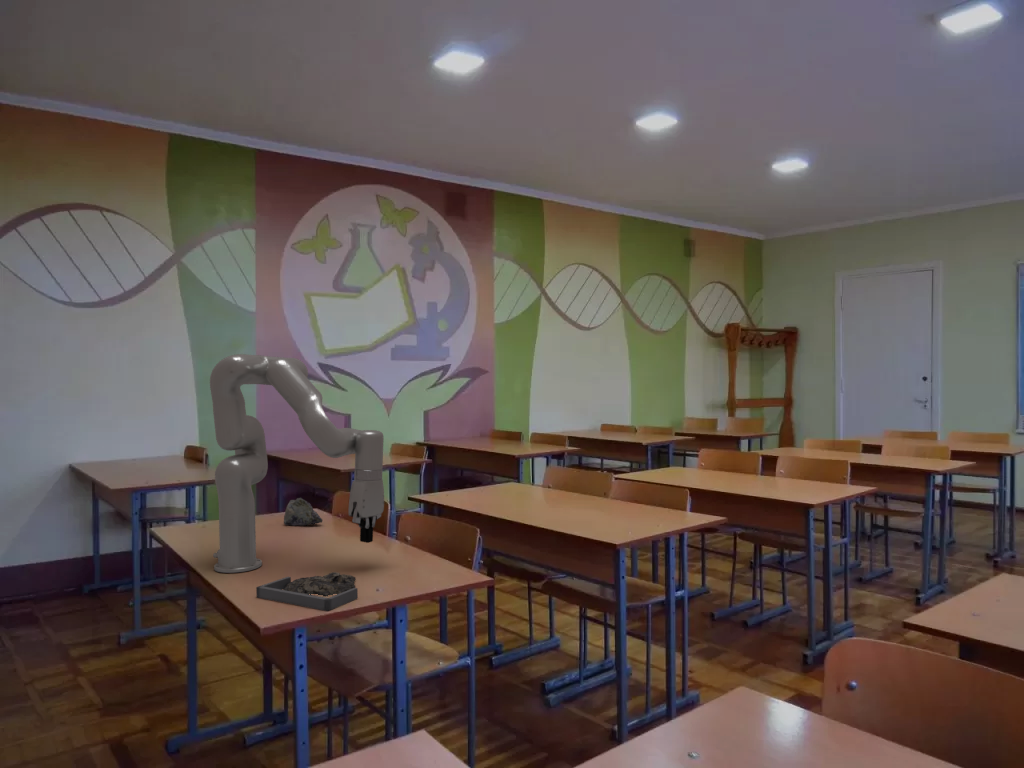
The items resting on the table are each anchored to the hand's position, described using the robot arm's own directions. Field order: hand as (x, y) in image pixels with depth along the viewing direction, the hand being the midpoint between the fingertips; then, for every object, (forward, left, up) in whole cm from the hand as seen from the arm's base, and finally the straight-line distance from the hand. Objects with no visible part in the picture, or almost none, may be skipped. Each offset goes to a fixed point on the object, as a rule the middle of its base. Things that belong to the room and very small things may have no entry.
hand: (366, 541), depth 200 cm
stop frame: (+3, -26, -8) cm, 28 cm away
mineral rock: (-60, +36, -8) cm, 70 cm away
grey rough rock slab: (+2, -19, -9) cm, 21 cm away
